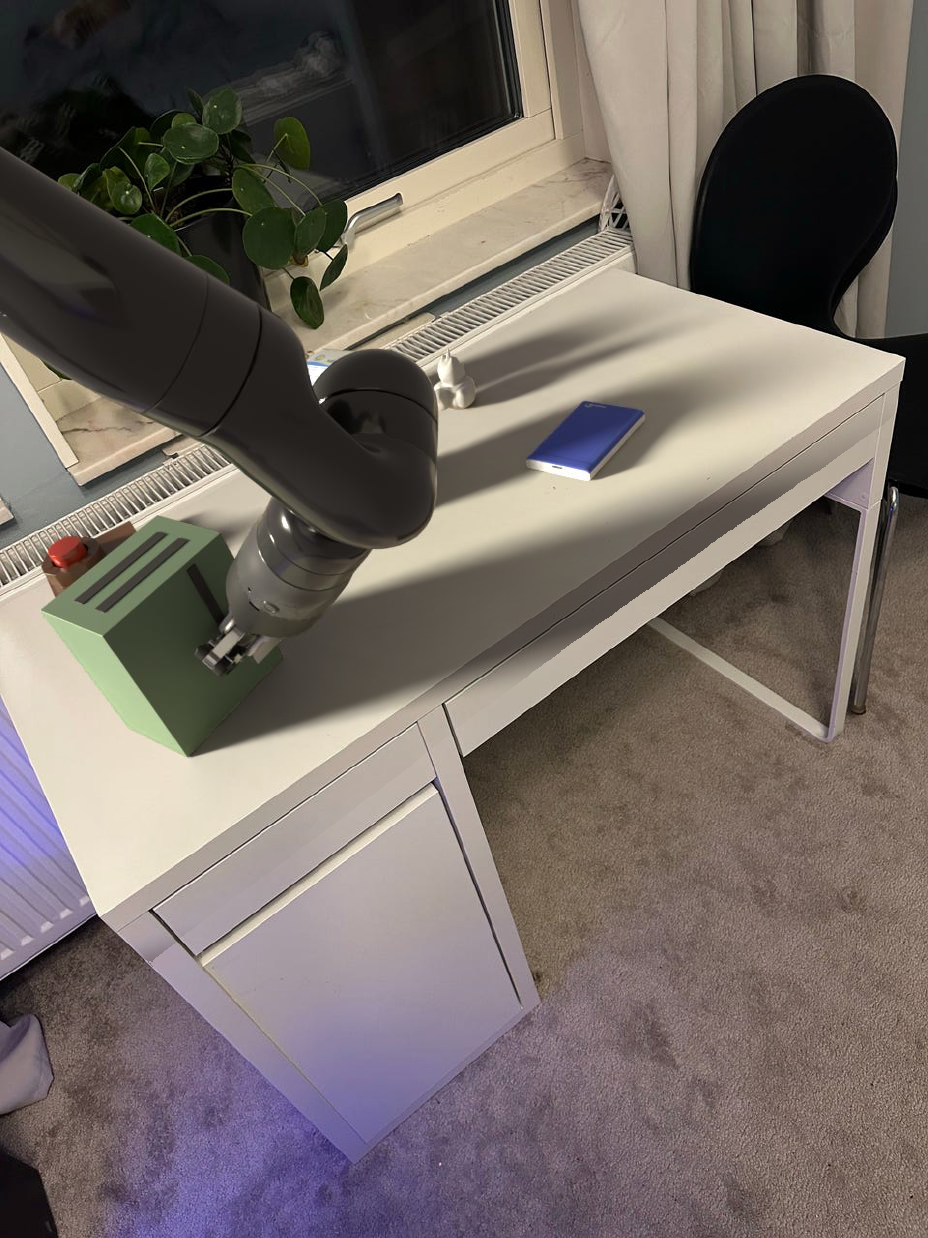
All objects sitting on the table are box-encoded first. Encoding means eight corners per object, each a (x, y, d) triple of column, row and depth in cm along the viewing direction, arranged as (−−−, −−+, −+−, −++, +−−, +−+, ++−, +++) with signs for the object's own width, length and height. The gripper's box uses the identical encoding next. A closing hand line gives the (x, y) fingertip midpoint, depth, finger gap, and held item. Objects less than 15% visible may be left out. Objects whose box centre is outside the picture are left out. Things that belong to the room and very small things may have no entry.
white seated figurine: (489, 400, 108) (476, 341, 102) (454, 426, 105) (439, 367, 99) (458, 392, 111) (445, 334, 106) (424, 417, 108) (408, 359, 103)
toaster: (189, 758, 73) (103, 636, 63) (128, 728, 77) (38, 609, 67) (286, 656, 80) (222, 532, 70) (224, 634, 84) (156, 514, 74)
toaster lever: (258, 664, 70) (249, 647, 68) (217, 648, 72) (208, 632, 71) (285, 635, 71) (277, 619, 70) (244, 621, 74) (236, 605, 73)
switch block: (67, 616, 92) (47, 589, 90) (51, 579, 99) (32, 552, 96) (159, 567, 96) (143, 540, 93) (138, 534, 102) (122, 508, 99)
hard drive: (581, 399, 100) (525, 456, 93) (644, 409, 95) (589, 469, 89) (583, 411, 101) (527, 468, 95) (645, 421, 96) (590, 482, 90)
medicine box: (387, 412, 111) (369, 351, 105) (367, 430, 109) (347, 368, 103) (342, 405, 115) (322, 346, 109) (322, 422, 113) (300, 363, 107)
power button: (59, 572, 92) (51, 560, 91) (53, 558, 95) (44, 546, 94) (90, 557, 93) (82, 544, 92) (83, 543, 96) (75, 531, 95)
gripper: (314, 474, 63) (260, 565, 77) (179, 596, 55) (147, 672, 69) (389, 543, 63) (322, 621, 78) (266, 673, 56) (216, 732, 70)
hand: (239, 644), depth 73 cm, fingers closed on toaster lever, 3 cm apart
